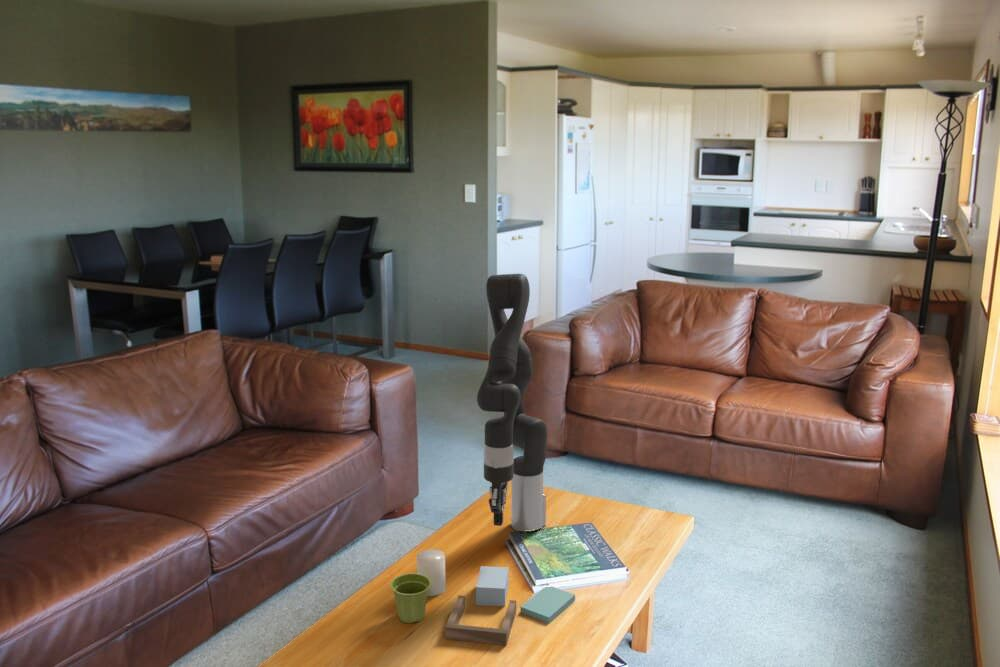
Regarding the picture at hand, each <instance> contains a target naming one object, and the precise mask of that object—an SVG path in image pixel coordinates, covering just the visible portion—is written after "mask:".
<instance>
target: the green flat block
mask: <svg viewBox="0 0 1000 667" xmlns="http://www.w3.org/2000/svg"><path fill="white" fill-rule="evenodd" d="M550 586H551V585H550ZM544 587H545V586H544ZM544 587H542V589H540V590H539V591H538V592H537V593H536V594H534V595H533V596H531V598H529V599H528V600H527V601H526V602H525V603H523V604H522V605H521V606H520V611H519V612H520V613H521V614H524V615H526V616H530V617H531V618H534V619H537V620H539V621H542V622H545V623H547V624H550V623H551V622H553V621H554V619H556V618H557V617H558V616H559V615H561V613H562V612H564V611H565V610H566V609H567V608H568V607H569V606H571V604H572V603H574V602H575V601H576V594H574V593H571V592H569V591H566V590H563V589H560V588H556V587H554V586H551V587H545V588H544Z"/></svg>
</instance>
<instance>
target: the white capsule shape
mask: <svg viewBox="0 0 1000 667" xmlns="http://www.w3.org/2000/svg"><path fill="white" fill-rule="evenodd" d="M416 571H417V572H416V573H418V574H422V575H425V576H427V577H428V578H429V579H430V581H431V586H430V588H429V591H428V593H427V597H436V596H440V595H443V594H444V593H445V592H446V590H447V587H446V586H447V585H446V583H447V582H446V581H447V580H446V555H445V553H444V552H443V551H441V550H439V549H433V548H431V549H430V548H429V549H425V550H421V551H420V552H418V553H417V555H416Z"/></svg>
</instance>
